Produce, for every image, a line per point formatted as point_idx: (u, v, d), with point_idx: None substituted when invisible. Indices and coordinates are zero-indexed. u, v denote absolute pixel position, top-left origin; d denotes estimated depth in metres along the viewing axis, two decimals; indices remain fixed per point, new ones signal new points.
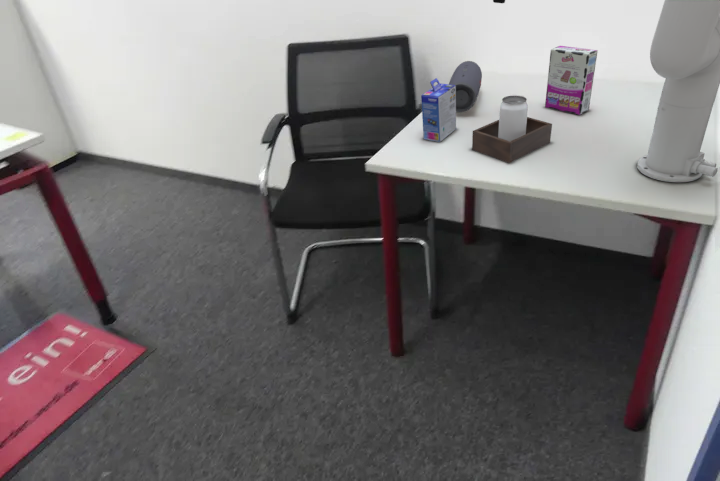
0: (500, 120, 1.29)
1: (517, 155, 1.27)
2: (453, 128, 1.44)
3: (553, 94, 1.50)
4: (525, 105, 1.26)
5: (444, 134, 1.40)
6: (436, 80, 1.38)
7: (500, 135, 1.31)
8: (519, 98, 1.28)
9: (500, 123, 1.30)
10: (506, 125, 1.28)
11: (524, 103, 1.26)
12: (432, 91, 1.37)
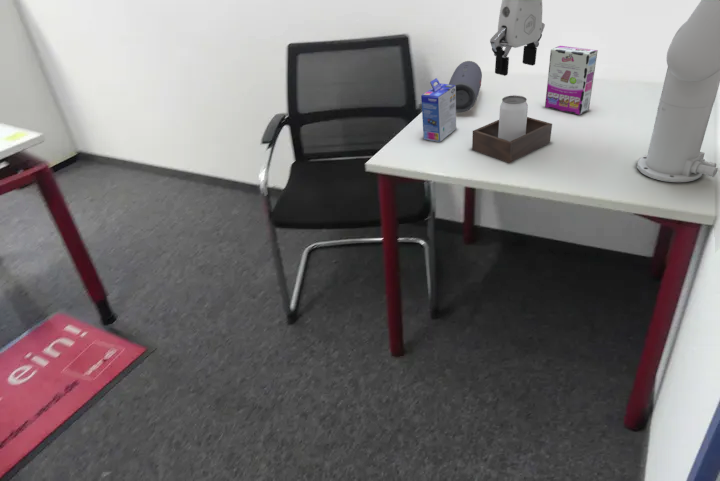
0: (500, 120, 1.29)
1: (517, 155, 1.27)
2: (453, 128, 1.44)
3: (553, 94, 1.50)
4: (525, 105, 1.26)
5: (444, 134, 1.40)
6: (436, 80, 1.38)
7: (500, 135, 1.31)
8: (519, 98, 1.28)
9: (500, 123, 1.30)
10: (506, 125, 1.28)
11: (524, 103, 1.26)
12: (432, 91, 1.37)
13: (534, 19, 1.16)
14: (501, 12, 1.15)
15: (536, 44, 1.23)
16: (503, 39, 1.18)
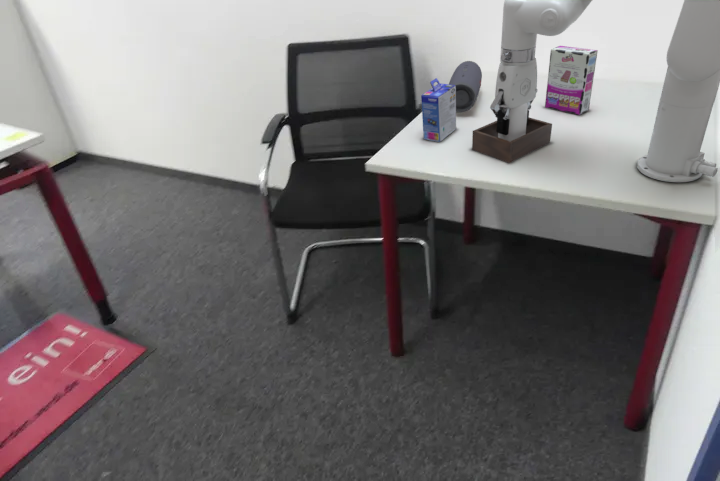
0: None
1: (517, 155, 1.27)
2: (453, 128, 1.44)
3: (553, 94, 1.50)
4: (525, 105, 1.26)
5: (444, 134, 1.40)
6: (436, 80, 1.38)
7: (500, 135, 1.31)
8: None
9: None
10: None
11: None
12: (432, 91, 1.37)
13: (529, 82, 1.24)
14: (498, 76, 1.22)
15: (528, 107, 1.30)
16: None
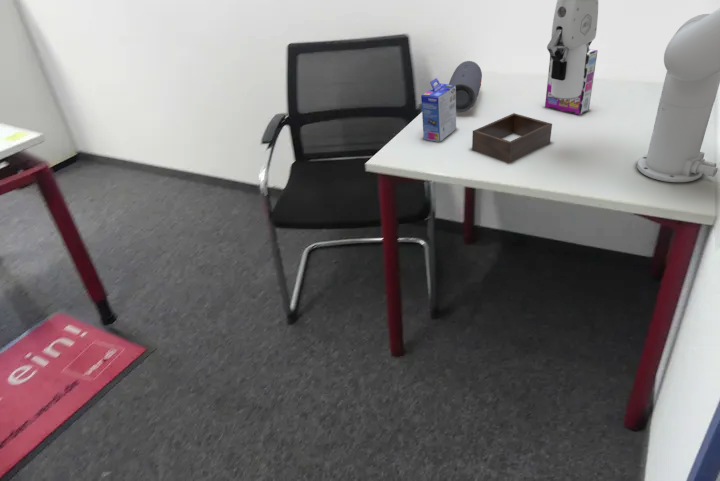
0: None
1: (517, 155, 1.27)
2: (453, 128, 1.44)
3: None
4: (584, 46, 1.14)
5: (444, 134, 1.40)
6: (436, 80, 1.38)
7: (555, 81, 1.19)
8: None
9: None
10: None
11: None
12: (432, 91, 1.37)
13: (590, 19, 1.11)
14: (556, 12, 1.10)
15: None
16: None
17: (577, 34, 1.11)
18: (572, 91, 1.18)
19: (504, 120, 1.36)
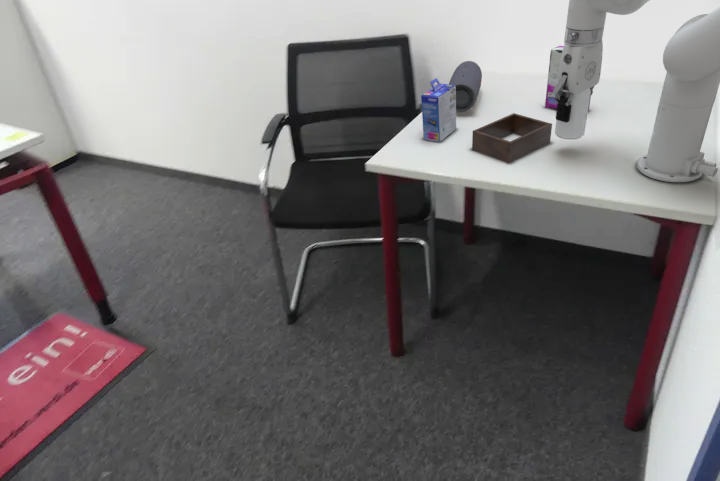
0: None
1: (517, 155, 1.27)
2: (453, 128, 1.44)
3: None
4: (588, 90, 1.18)
5: (444, 134, 1.40)
6: (436, 80, 1.38)
7: (559, 122, 1.23)
8: None
9: None
10: None
11: None
12: (432, 91, 1.37)
13: (594, 65, 1.16)
14: (562, 59, 1.15)
15: None
16: None
17: (582, 80, 1.15)
18: (575, 132, 1.22)
19: (504, 120, 1.36)
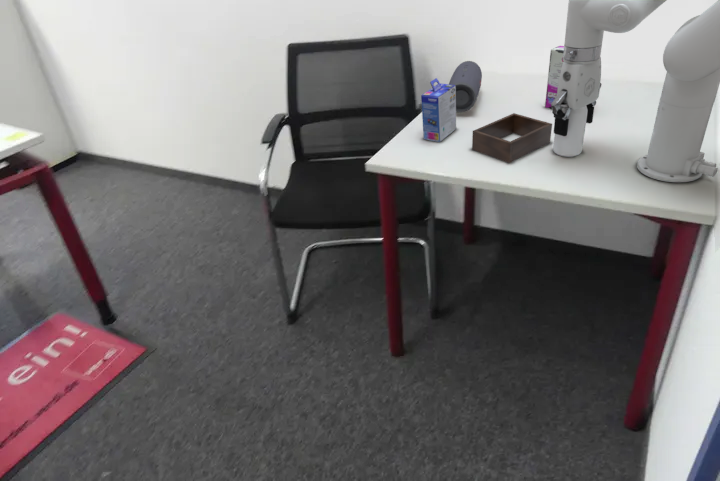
0: None
1: (517, 155, 1.27)
2: (453, 128, 1.44)
3: (553, 94, 1.50)
4: (585, 109, 1.21)
5: (444, 134, 1.40)
6: (436, 80, 1.38)
7: (557, 140, 1.26)
8: None
9: None
10: None
11: (584, 107, 1.20)
12: (432, 91, 1.37)
13: (593, 81, 1.18)
14: (561, 76, 1.17)
15: (593, 103, 1.24)
16: (562, 101, 1.20)
17: (581, 96, 1.17)
18: (573, 150, 1.25)
19: (504, 120, 1.36)
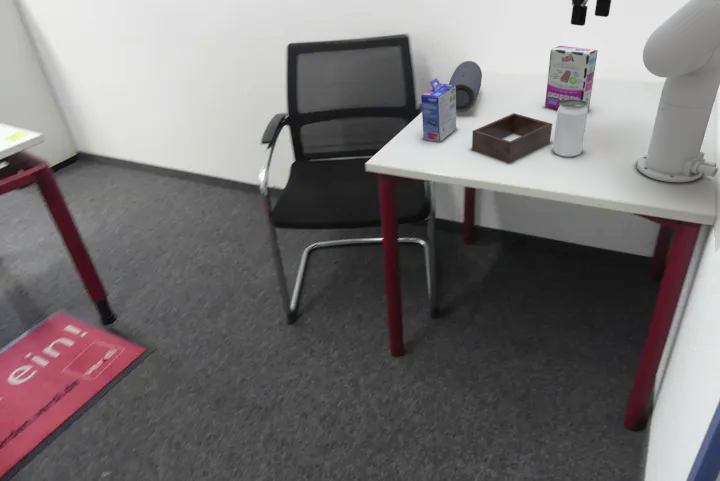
0: (558, 125, 1.24)
1: (517, 155, 1.27)
2: (453, 128, 1.44)
3: (553, 94, 1.50)
4: (585, 109, 1.21)
5: (444, 134, 1.40)
6: (436, 80, 1.38)
7: (557, 140, 1.26)
8: (578, 102, 1.23)
9: (557, 128, 1.24)
10: (564, 130, 1.23)
11: (584, 107, 1.20)
12: (432, 91, 1.37)
13: None
14: None
15: None
16: None
17: None
18: (573, 150, 1.25)
19: (504, 120, 1.36)
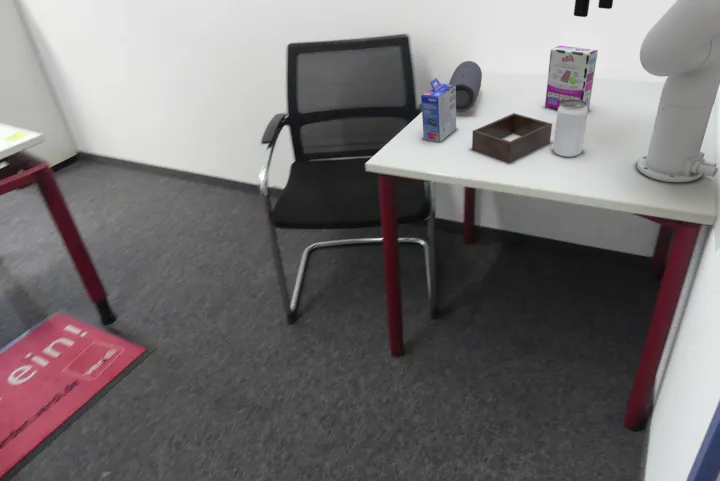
0: (558, 125, 1.24)
1: (517, 155, 1.27)
2: (453, 128, 1.44)
3: (553, 94, 1.50)
4: (585, 109, 1.21)
5: (444, 134, 1.40)
6: (436, 80, 1.38)
7: (557, 140, 1.26)
8: (578, 102, 1.23)
9: (557, 128, 1.24)
10: (564, 130, 1.23)
11: (584, 107, 1.20)
12: (432, 91, 1.37)
13: None
14: None
15: None
16: None
17: None
18: (573, 150, 1.25)
19: (504, 120, 1.36)
